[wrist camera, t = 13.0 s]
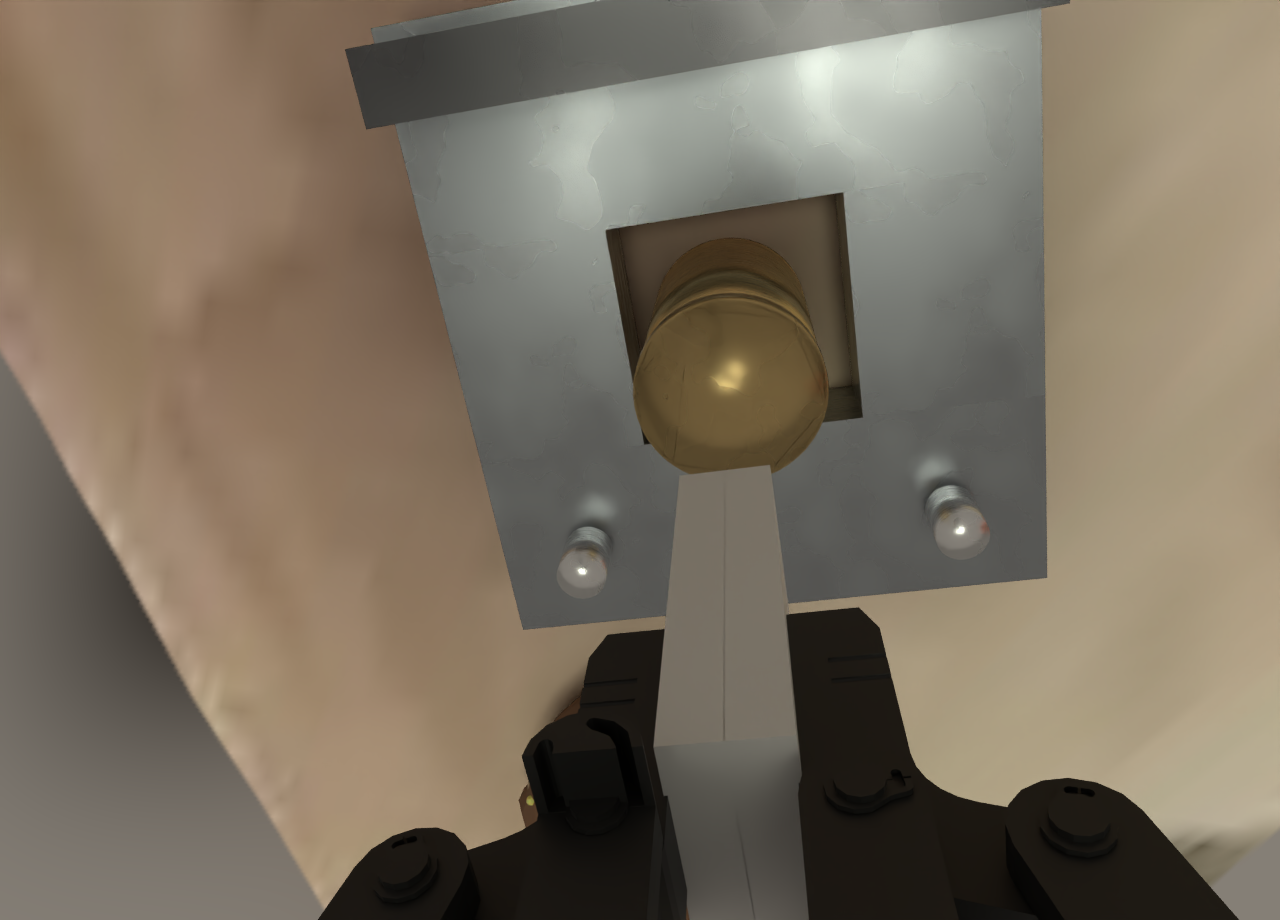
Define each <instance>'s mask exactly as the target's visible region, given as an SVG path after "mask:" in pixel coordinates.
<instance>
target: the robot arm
mask: <svg viewBox="0 0 1280 920" xmlns="http://www.w3.org/2000/svg"><path fill="white" fill-rule="evenodd" d="M522 759H523V762H524V766H525V769H526V773H527V777H528V780H529V784H530V787H531V791H532V794H533V798H534V802H535V805H536V809H537V812H538V817H537V821H536V822H534V823H533V824H531V825H530V826H528V827H526V828H525V829H523V830H522V831H520V832H517V833H515V834H513V835H510V836H508V837H506V838H503V839H500V840H497V841H494V842H491V843H488V844H485V845H482V846H479V847H476V848H473V849H470V850H467V848H466V846H465V844H464V843H463V842H462V841H461V840H460V839H459V838H458V837H457V836H456V834H454V833H451V832H449V831H446V830H443V829H440V828H415V829H412V830H409V831H406V832H403V833H400V834H397V835H394V836H392V837H390V838H389V839H387V840H385V841H384V842H382V843H381V844H379V845H377V846H376V847H374V848H373V849H371V850H370V851H369V852H368V853H367V854H366V856H365V857H364V858H363V859H362V860H361V861H360V862H359V863H358V864H357V865H356V866H355V867H354V869H353V870H352V872H351V873H350V875H349V876H348V877H347V879H346V880H345V882H344V883H343V885H342V886H341V887H340V889H339V890H338V892H337V893H336V894H335V896H334V897H333V899H332V900H331V902H330V903H329V904H328V906H327V907H326V909H325V910H324V912H323V913H322V914H321V916H320V917H319V919H318V920H686V909H688V914H689V919H690V920H1239V919H1238V918H1237V917H1236V916H1235V915H1234V914H1233V912H1232V911H1231V910H1230V909H1229V908H1228V907H1227V906H1226V904H1224V902H1223V901H1222V900H1221V899H1220V898H1219V896H1218V895H1217V894H1216V893H1215V892H1214V891H1213V890H1212V889H1211V887H1210V886H1209V885H1208V884H1207V883H1206V882H1205V881H1204V879H1203V878H1202V877H1201V876H1200V875H1199V874H1198V873H1197V871H1196V870H1195V869H1194V868H1193V867H1192V866H1191V865H1190V864H1189V862H1188V861H1187V860H1186V859H1185V858H1184V857H1183V856H1182V854H1181V853H1180V852H1179V851H1178V850H1177V849H1176V848H1175V846H1174V845H1173V844H1172V843H1171V842H1170V841H1169V840H1168V839H1167V837H1166V836H1165V835H1164V834H1163V833H1162V832H1161V831H1160V829H1159V828H1158V827H1157V826H1156V825H1155V824H1154V823H1153V821H1152V820H1151V819H1150V818H1149V817H1148V816H1147V815H1146V814H1145V812H1144V811H1143V810H1142V809H1140V808H1139V807H1138V806H1137V805H1135V804H1134V803H1133V802H1132V801H1131V800H1129V799H1128V798H1127V797H1126V796H1124V795H1123V794H1122V793H1119V792H1117V791H1115V790H1112V789H1110V788H1108V787H1106V786H1103V785H1101V784H1099V783H1096V782H1090V781H1084V780H1078V779H1072V778H1063V779H1053V780H1043V781H1040V782H1038V783H1036V784H1033V785H1031V786H1029V787H1027V788H1025V789H1022V790H1021V791H1020V792H1019V793H1018V794H1017V795H1016V797H1015V798H1014V799H1013V800H1012V801H1011V802H1010V804H1009V805H1008V807H1003V806H998V805H992V804H986V803H981V802H976V801H972V800H968V799H964V798H961V797H957V796H955V795H953V794H951V793H949V792H947V791H944V790H942V789H940V788H939V787H937V786H936V785H935V784H933V783H932V782H931V781H929V780H928V779H927V778H926V777H925V776H924V775H923V774H922V773H921V772H920V770H919V769H918V768H917V767H916V765H915V763H914V761H913V758H912V756H911V754H910V750H909V746H908V742H907V737H906V733H905V729H904V725H903V721H902V717H901V713H900V709H899V705H898V701H897V697H896V693H895V689H894V685H893V681H892V678H891V673H890V668H889V664H888V660H887V658H886V652H885V648H884V644H883V640H882V636H881V632H880V628H879V627H878V626H877V625H876V624H875V623H874V622H873V621H872V620H871V619H870V618H869V617H868V616H867V615H866V614H865V613H864V612H863V611H862V610H861V609H860V608H859V607H858V608H848V609H837V610H827V611H817V612H807V613H797V614H789V607H788V599H787V592H786V584H785V576H784V568H783V561H782V553H781V545H780V538H779V530H778V522H777V514H776V507H775V499H774V491H773V483H772V476H771V468H770V465H764V466H756V467H747V468H739V469H731V470H723V471H714V472H706V473H698V474H689V475H681V476H679V487H678V497H677V507H676V518H675V528H674V538H673V549H672V559H671V570H670V580H669V590H668V601H667V611H666V621H665V629H661V630H651V631H641V632H630V633H620V634H610V635H607V636H606V638H605V639H604V640H603V641H602V642H601V644H600V645H599V646H598V647H597V649H596V650H595V651H594V652H593V654H592V655H591V656H590V657H589V660H588V665H587V670H586V675H585V680H584V688H583V689H582V694H581V699H580V709H578V713H576V714H572V715H567V716H565V717H563V718H561V719H559V720H557V721H555V722H553V723H551V724H549V725H547V726H545V727H544V728H543V729H542V730H541V731H540V732H539V733H538V734H536V735H535V736H534V737H533V738H532V739H531V740H530V742H529V743H528V745H527V747H526V749H525V751H524V753H523V755H522Z"/></svg>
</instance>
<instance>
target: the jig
mask: <svg viewBox="0 0 1280 920" xmlns="http://www.w3.org/2000/svg"><path fill="white" fill-rule="evenodd" d="M1068 3H1070V0H514V1H509V2H504V3H499V4H494V5H489V6H483V7H478V8H473V9H468V10H463V11H458V12H453V13H447V14H442V15H437V16H432V17H427V18H422V19H417V20H412V21H406V22H401V23H396V24H391V25H386V26H381V27H376V28H371V31H372V35H373V39H374V43H375V44H371V45H365V46H360V47H355V48H350V49H345V51H346V54H347V58H348V62H349V66H350V70H351V73H352V77H353V81H354V85H355V88H356V92H357V96H358V100H359V104H360V107H361V111H362V115H363V119H364V122H365V126H366V129H371V128H376V127H382V126H387V125H393V124H395V126H396V130H397V134H398V138H399V142H400V146H401V150H402V154H403V158H404V162H405V165H406V169H407V173H408V177H409V181H410V185H411V189H412V193H413V197H414V201H415V205H416V209H417V213H418V217H419V221H420V225H421V229H422V232H423V236H424V240H425V244H426V248H427V252H428V256H429V260H430V264H431V268H432V272H433V276H434V280H435V284H436V288H437V292H438V296H439V299H440V303H441V307H442V311H443V315H444V319H445V323H446V327H447V331H448V335H449V339H450V343H451V347H452V351H453V355H454V359H455V363H456V367H457V370H458V374H459V378H460V382H461V386H462V390H463V394H464V398H465V402H466V406H467V410H468V414H469V418H470V422H471V426H472V430H473V434H474V437H475V441H476V445H477V449H478V453H479V457H480V461H481V465H482V469H483V473H484V477H485V481H486V485H487V489H488V493H489V497H490V501H491V505H492V508H493V512H494V516H495V520H496V524H497V528H498V532H499V536H500V540H501V544H502V548H503V552H504V556H505V560H506V564H507V568H508V572H509V575H510V579H511V583H512V587H513V591H514V595H515V599H516V603H517V607H518V611H519V615H520V619H521V623H522V627H523V630H525V629H536V628H546V627H556V626H566V625H576V624H586V623H596V622H606V621H616V620H626V619H636V618H646V617H657V616H666V611H667V601H668V590H669V580H670V570H671V559H672V549H673V538H674V528H675V518H676V507H677V497H678V487H679V476H681V475H689V474H688V473H686V472H683V471H682V470H680V469H678V468H677V467H675V466H673V465H672V464H671V463H669V462H668V461H667V460H666V459H664V458H663V457H662V456H661V455H660V454H659V453H658V452H657V451H656V450H655V449H654V447H653V446H652V445H651V444H650V442H649V441H648V440H647V438H646V436H645V434H644V433H643V431H642V429H641V426H640V424H639V421H638V419H637V415H636V411H635V408H634V400H633V382H634V376H635V371H636V367H637V363H638V360H639V357H640V354H641V353H640V347H639V341H638V336H637V330H636V324H635V319H634V313H633V307H632V302H631V296H630V290H629V285H628V279H627V273H626V268H625V262H624V257H623V251H622V245H621V240H620V234H619V228H620V227H626V226H632V225H639V224H645V223H651V222H658V221H664V220H670V219H677V218H683V217H689V216H696V215H702V214H708V213H715V212H721V211H727V210H734V209H740V208H746V207H753V206H759V205H765V204H772V203H778V202H784V201H791V200H797V199H803V198H810V197H816V196H822V195H829V194H835V201H836V212H837V223H838V234H839V245H840V256H841V267H842V278H843V289H844V300H845V311H846V322H847V333H848V344H849V355H850V366H851V377H852V386H847V387H839V388H832V389H829V396H828V405H827V409H826V413H825V417H824V420H823V422H822V425H821V427H820V429H819V431H818V433H817V434H816V436H815V438H814V440H813V441H812V442H811V443H810V445H809V446H808V447H807V449H806V450H805V451H804V452H803V453H802V454H801V455H800V456H799V457H798V458H796V459H795V460H794V461H793V462H791V463H790V464H789V465H787V466H786V467H784V468H782V469H781V470H779V471H777V472H775V473H773V474H771V476H772V483H773V491H774V499H775V507H776V514H777V522H778V530H779V538H780V545H781V553H782V561H783V568H784V576H785V584H786V592H787V599H788V603H798V602H808V601H818V600H828V599H838V598H848V597H858V596H868V595H878V594H889V593H899V592H909V591H919V590H929V589H939V588H949V587H959V586H969V585H979V584H989V583H999V582H1010V581H1020V580H1030V579H1040V578H1047V521H1046V424H1045V327H1044V230H1043V132H1042V35H1041V8H1046V7H1051V6H1057V5H1062V4H1068Z"/></svg>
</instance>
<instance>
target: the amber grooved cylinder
mask: <svg viewBox="0 0 1280 920" xmlns="http://www.w3.org/2000/svg"><path fill="white" fill-rule="evenodd" d="M828 396H829V385H828V376H827V370H826V366H825V363H824V360H823V357H822V354H821V350H820V348H819V346H818V344H817V341H816V337H815V334H814V330H813V326H812V323H811V319H810V315H809V312H808V308H807V304H806V301H805V297H804V293H803V290H802V287H801V284H800V282H799V280H798V278H797V276H796V274H795V272H794V271H793V269H792V268H791V266H790V265H789V264H788V263H787V262H786V261H785V260H784V259H783V258H782V257H781V256H780V255H779V254H778V253H776V252H775V251H773V250H772V249H770V248H769V247H766V246H764V245H762V244H760V243H757V242H754V241H751V240H746V239H741V238H723V239H717V240H712V241H709V242H706V243H703V244H700V245H698V246H697V247H695V248H693V249H691V250H690V251H688V252H687V253H685V254H684V255H683V256H682V257H680V258H679V259H678V260H677V261H676V262H675V263H674V265H673V266H672V267H671V268H670V269H669V271H668V273H667V274H666V276H665V277H664V279H663V282H662V284H661V286H660V289H659V292H658V296H657V299H656V303H655V307H654V311H653V314H652V318H651V322H650V326H649V329H648V333H647V337H646V340H645V344H644V347H643V349H642V351H641V354H640V357H639V360H638V363H637V367H636V371H635V376H634V382H633V400H634V408H635V411H636V415H637V419H638V421H639V424H640V426H641V429H642V431H643V433H644V434H645V436H646V438H647V440H648V441H649V442H650V444H651V445H652V446H653V447H654V449H655V450H656V451H657V452H658V453H659V454H660V455H661V456H662V457H663V458H664V459H666V460H667V461H668V462H669V463H671V464H672V465H673V466H675V467H677V468H678V469H680V470H682V471H683V472H686V473H688V474H698V473H706V472H714V471H723V470H731V469H739V468H747V467H756V466H764V465H770V468H771V474H773V473H775V472H777V471H779V470H781V469H782V468H784V467H786V466H787V465H789V464H790V463H791V462H793V461H794V460H795V459H796V458H798V457H799V456H800V455H801V454H802V453H803V452H804V451H805V450H806V449H807V447H808V446H809V445H810V443H811V442H812V441H813V440H814V438H815V436H816V434H817V433H818V431H819V429H820V427H821V425H822V422H823V420H824V417H825V413H826V409H827V405H828Z"/></svg>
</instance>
